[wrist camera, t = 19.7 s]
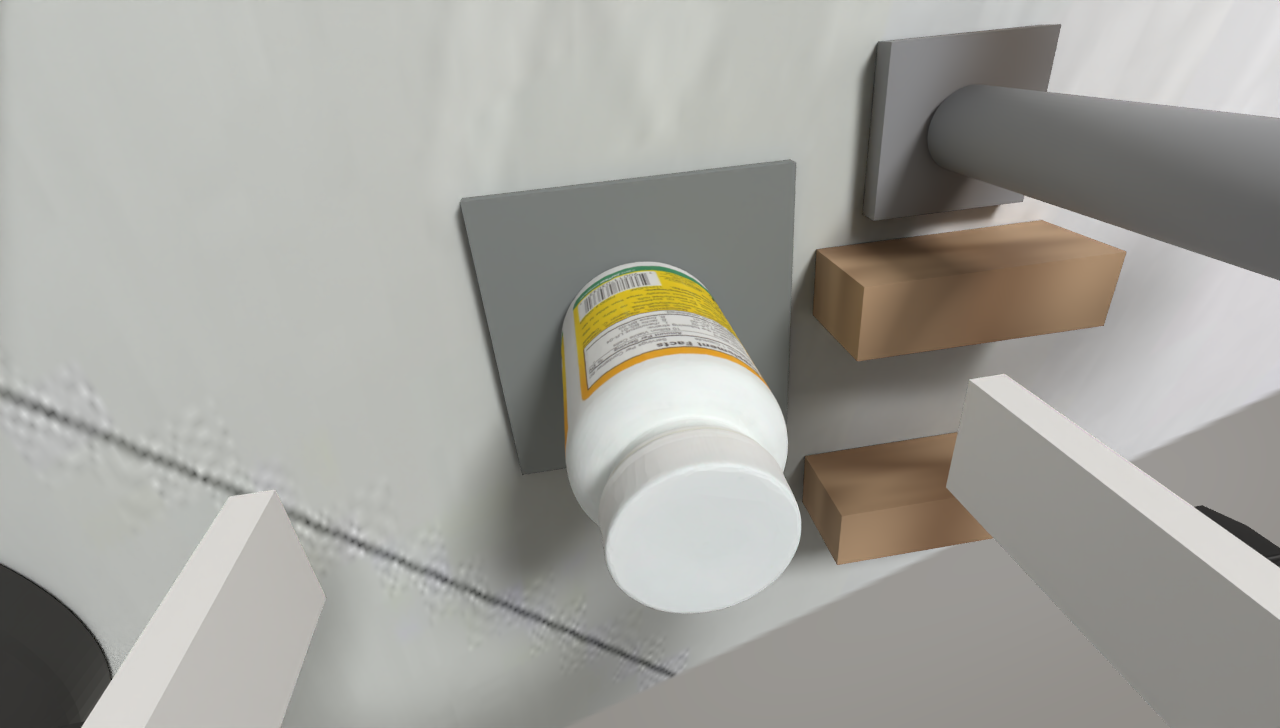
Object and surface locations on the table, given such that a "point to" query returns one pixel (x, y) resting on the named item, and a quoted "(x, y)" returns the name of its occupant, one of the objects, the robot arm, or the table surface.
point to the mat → (620, 234)
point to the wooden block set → (938, 286)
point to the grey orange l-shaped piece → (1126, 165)
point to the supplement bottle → (674, 442)
